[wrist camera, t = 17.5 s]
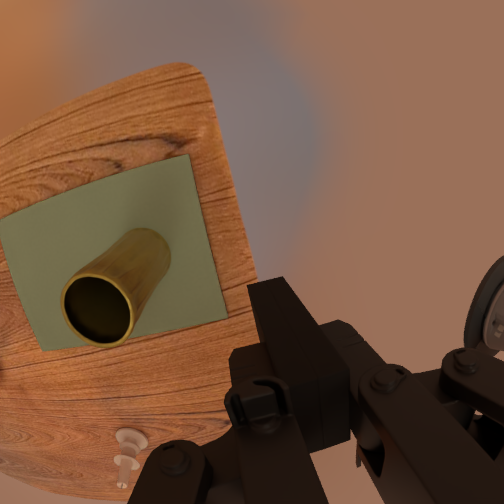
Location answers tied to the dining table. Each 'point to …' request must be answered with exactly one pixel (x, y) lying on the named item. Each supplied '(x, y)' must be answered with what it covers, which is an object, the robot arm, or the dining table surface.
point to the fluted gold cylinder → (115, 288)
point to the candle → (128, 453)
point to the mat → (103, 237)
